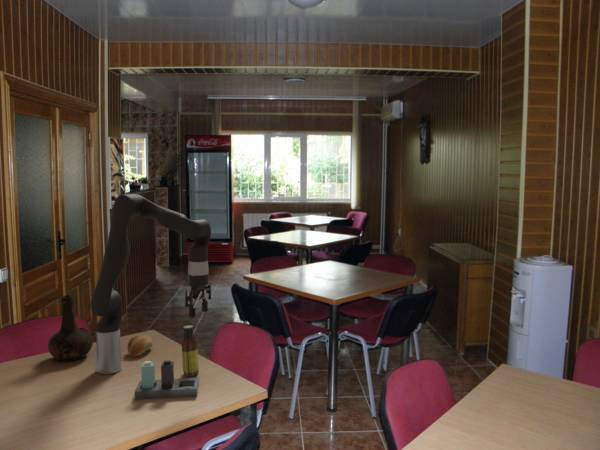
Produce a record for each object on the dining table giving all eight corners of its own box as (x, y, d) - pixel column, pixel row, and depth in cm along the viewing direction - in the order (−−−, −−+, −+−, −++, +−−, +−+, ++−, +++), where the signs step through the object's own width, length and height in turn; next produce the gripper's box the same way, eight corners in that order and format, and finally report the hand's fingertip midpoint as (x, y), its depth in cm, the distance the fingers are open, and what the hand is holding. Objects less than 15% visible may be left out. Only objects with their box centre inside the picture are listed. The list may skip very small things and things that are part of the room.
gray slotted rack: (134, 399, 182) (133, 367, 181) (140, 388, 192) (139, 357, 190) (196, 396, 184) (196, 364, 183) (199, 385, 194) (198, 355, 193)
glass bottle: (101, 355, 227) (99, 294, 224) (64, 368, 212) (61, 302, 209) (77, 348, 236) (74, 289, 233) (40, 360, 221) (37, 297, 218)
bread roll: (122, 358, 223) (121, 340, 223) (137, 347, 238) (136, 330, 237) (142, 359, 222) (142, 341, 222) (156, 347, 237) (156, 331, 236)
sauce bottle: (200, 371, 208) (199, 324, 206) (196, 377, 202) (195, 329, 200) (185, 370, 209) (184, 324, 207) (180, 376, 202) (179, 328, 201)
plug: (142, 395, 185) (141, 364, 184) (144, 391, 189) (143, 360, 188) (153, 395, 185) (152, 363, 184) (155, 390, 189) (154, 359, 188)
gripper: (200, 268, 198) (200, 309, 200) (178, 275, 185) (179, 318, 187) (216, 270, 196) (217, 311, 197) (196, 276, 182) (196, 320, 184)
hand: (198, 314), depth 192 cm, fingers open, 8 cm apart
